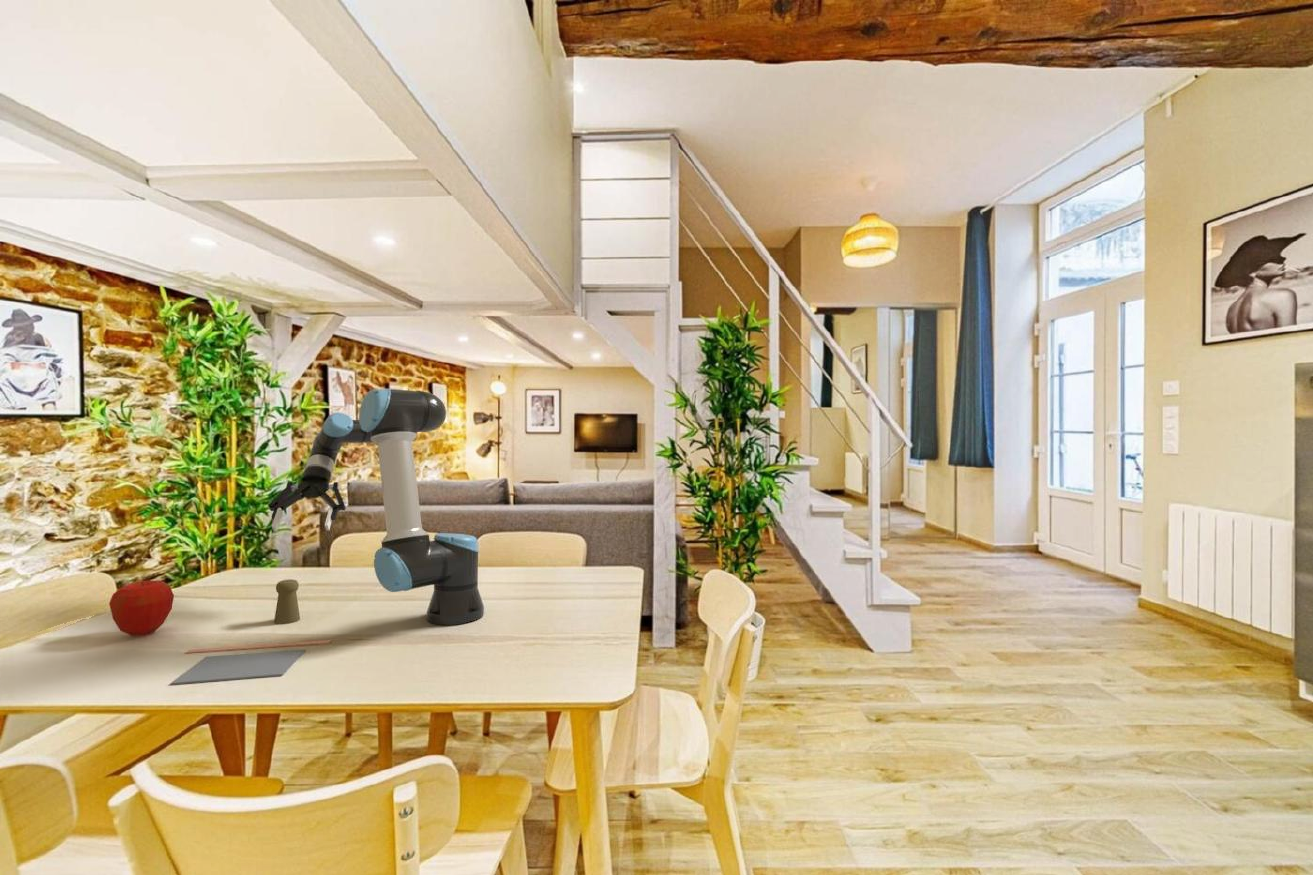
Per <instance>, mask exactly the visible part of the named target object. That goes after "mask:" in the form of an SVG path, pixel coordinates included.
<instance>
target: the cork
mask: <svg viewBox="0 0 1313 875" xmlns="http://www.w3.org/2000/svg"><path fill="white" fill-rule="evenodd" d="M275 585H276V586H275V590H276V591H275V592H277V594H278V595H277V599H276V601H277V602H276V608H275V613H274V620H273V624H275V625H287V624H293V623H297V622H298V621H300V620H301V617H300V615H301V614H300V609H299V603H298V595H297V591H298V590H299V586H300V585H299V582H298V580H296V579H284V580H280V581H278V582H277V583H276V584H275Z"/></svg>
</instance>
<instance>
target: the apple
mask: <svg viewBox="0 0 1313 875" xmlns="http://www.w3.org/2000/svg"><path fill="white" fill-rule="evenodd" d="M174 597H175V595H174V592H173V590H172V588H171V586H170V585H169V584H168V583H166V581H163V580H145V578H142V580H140V581H135V582H134V581H133V582H131V583H128V584H126V585H123V586H121V587H120V588H119V589H118V590H116V591H115V592H113V594H112V596H111V598H110V600H109V603H108V605H109V608H110V612H111V616H112V620H113V621H114V624H115V625H116V627H117V628H118V630H119V631H120V632H122V633H124V634H127V635H129V636H132V637H141V636H148V635H151V634H153V633H155V632H156V631H157V630H158V629H159V628H161V627H162V625H164V623H165V622H166V620H167V618H168V616H169V615H170V613H171V611H172V610H173V604H174Z"/></svg>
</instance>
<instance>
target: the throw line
mask: <svg viewBox="0 0 1313 875" xmlns="http://www.w3.org/2000/svg"><path fill="white" fill-rule="evenodd" d="M331 642H332V639H326V640H312V641H311V640H309V641H297V642H294V641H293V642H284V643H282V642H281V643H268V644H267V643H266V644H255V645H253V644H252V645H237V646H228V647H227V646H226V647H225V646H223V647H211V648H210V647H209V648H194V649H188V650H186V651H185V652H184V654H186V653H187V654H200V653H212V652H213V651H215V652H227V651H228V650H229V651H238V650H239V651H242V649H243V650H254V649H255V650H256V649H268V648H269V649H270V648H281V647H295V646H296V647H297V646H310V645H325V644H326V645H329V644H330V643H331ZM213 653H214V652H213Z"/></svg>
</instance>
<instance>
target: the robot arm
mask: <svg viewBox="0 0 1313 875" xmlns="http://www.w3.org/2000/svg"><path fill="white" fill-rule="evenodd" d="M446 417H447V410H446V406H445V403H444V402H443V400H441V399H440V398H439V396H437V395H435V394H433V393H431V392H427V391H424V390H423V391H421V390H406V389H397V388H396V389H395V388H394V389H393V388H387V387H386V388H373V389H371V390H369V391H367V393H366V394H365V395H364V397H363V399H362V402H361V404H360V407H359V412H358V419H352V417H350V415H348V414H344V413H342V412H333V413H331V414H329V416H328V417H327V418H326V420H325V421H324V422H323V424H322V427H321V429H320V430H319V432H318V433H317V434H316V437H315V438H314V440H313V442H312V447H311V450H310V453H309V457H308V459H307V463H306V465H305V468H304V471H303V474H302V477H301V479H300V480H301V481H300V483H298V484H297V483H296V484H294V483H293V482H292V481H290V482H288V483H287V485H286V487H285V488H284V489H283V490H282V491H281V492H280V493H279V494H278V495H277V496H276V497H274V499H272V500H271V501H270V502H269V503H268V504H267V506H268V509H269V510H270V512H272V513H271V519H272V525H271V528H272V530H273V532H274V533H275V532H276V533H277V532H278V531H279V527H280V525H281V521H282V520H283V519H282V518H283V515H284V512H283V511H285V510H286V509H287V508H290V507H291V506H292V505H294V504H295V503H296V502H298V501H300V500H301V501H302V500H303V499H304V498H306V499H312V498H314V499H317V498H319V497H320V498H321V499H322V500H323V501H324V502H325V503H326V504H327V505H328V506H329V508H328V511H327V515H326V519H325V523H324V527H325V530H326V531H330V530H331V526H332V523H333V521H335V520H336V519H337V516H338V513H339V511H346V505H345V502H344V500H343V498H342V495H341V492H340V486H339V483H338V481H335V482H333V484H332V483H330V481H331V479H332V478H331V477H332V475H333V471H334V468H335V464H336V460H337V457H338V454H339V452H340V450H341V449H342V447H343V445H344V444H363V443H365V444H367V443H368V444H370V443H371V444H373V443H374V444H376V446H377V452H378V462H379V471H380V482H381V490H382V498H383V499H382V500H383V511H384V518H385V526H386V528H385V530H386V534H385V537H383V539H382V540H381V547H379V548H378V549H377V550H376V552H375V553H374V559H373V568H374V573H375V576H376V578H377V580H378V582H379V584H380V585H381V586H382V587H383V589H385V590H386V591H387V592H390V593H397V592H407V591H411V590H413V589H418V588H423V587H427V586H433V593H432V596H431V599H430V601H429V605H428V607H427V610H426V620H427V622H428V623H430V624H435V625H440V626H454V625H462V623H463V624H467V623H466V622H468V623H471V622H470V621H472V622H474V621H473V620H475V619H477V620H480V619H481V618H482V617H483V616H484V615H485V607H484V606H485V605H484V603H483V599H482V597H481V593H480V591H479V585H478V581H479V580H478V579H479V578H478V577H479V575H478V574H479V553H480V551H479V542H478V539H477V537H476V536H474V535H469V534H463V533H450V532H449V533H448V532H447V533H443V532H440V533H435V534H434V537H433V540H430V533H429V532H427V531H425V530H424V529H423V526H422V525H423V524H422V516H421V509H420V508H421V507H420V499H419V490H418V484H417V474H416V473H417V472H416V466H415V465H416V463H415V456H414V447H413V441H414V440H415V439H416V438H417V437H418V433H428V432H431V431H436V430H438V429H439V428H440V427H441V426H442V425H444V423H445V420H446V419H447V418H446ZM329 490H331V492H333V493H334V496H335V498H336V500H337V502H335V501H334V500H333V499H332V498H331V496H329V494H328V493H327V492H329ZM337 503H338V504H337ZM483 614H484V615H483ZM479 618H480V619H479ZM475 621H476V620H475Z"/></svg>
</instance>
